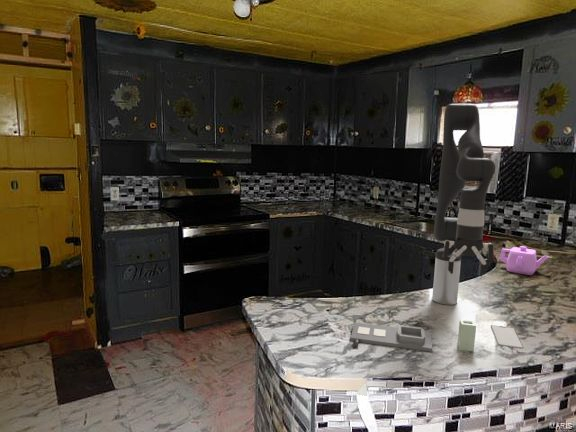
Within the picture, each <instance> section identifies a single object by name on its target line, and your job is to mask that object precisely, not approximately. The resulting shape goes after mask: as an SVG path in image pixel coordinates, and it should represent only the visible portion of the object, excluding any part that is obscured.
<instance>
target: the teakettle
mask: <svg viewBox="0 0 576 432" xmlns="http://www.w3.org/2000/svg"><path fill="white" fill-rule="evenodd" d="M506 253H508V255H507V257H506ZM548 258H549V256H548V255H543V256H542V257H540V258H539V259H538V260H537V250H535V249H532V248H531V249H530V248H528V247H527V246H524V245H520V246H519V247H516V246H513V247H511V248H510V249H509V248H501V251H500V255H499V260H500V261H501V262H503V263H504V264H505V267H506V268H505V269H506V271H507V272H508V273H509V272H510V273H514V274H515V273H516V274H521V275H527V276H532V275H534V274H535V273H536V270H537V269H538V268H539V267H541V265H542V264H543V263H545V261H546V260H547V259H548Z"/></svg>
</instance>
